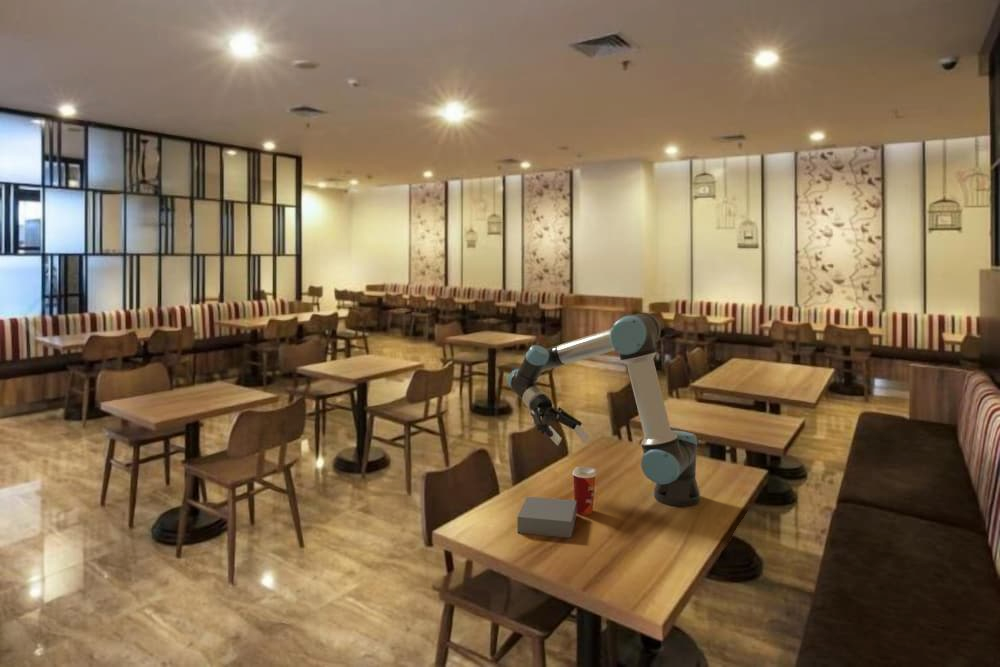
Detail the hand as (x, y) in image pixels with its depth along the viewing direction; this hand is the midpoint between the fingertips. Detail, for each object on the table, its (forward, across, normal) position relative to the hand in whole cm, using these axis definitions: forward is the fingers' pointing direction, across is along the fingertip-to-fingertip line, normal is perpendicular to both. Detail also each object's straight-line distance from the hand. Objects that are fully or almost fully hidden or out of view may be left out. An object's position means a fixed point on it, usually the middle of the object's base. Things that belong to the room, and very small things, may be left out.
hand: (573, 441), depth 208 cm
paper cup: (+16, -1, -16) cm, 23 cm away
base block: (+17, +15, -18) cm, 29 cm away
